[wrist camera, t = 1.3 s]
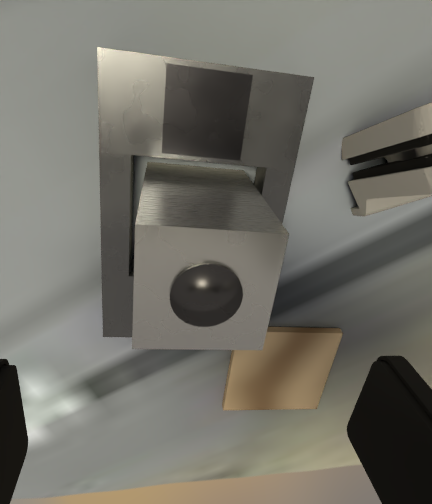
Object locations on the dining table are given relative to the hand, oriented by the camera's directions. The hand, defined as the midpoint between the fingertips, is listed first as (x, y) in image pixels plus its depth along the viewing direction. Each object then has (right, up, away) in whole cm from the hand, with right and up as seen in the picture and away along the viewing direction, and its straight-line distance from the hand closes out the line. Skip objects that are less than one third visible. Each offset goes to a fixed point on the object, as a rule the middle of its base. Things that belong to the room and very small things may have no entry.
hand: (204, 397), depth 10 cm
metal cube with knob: (-1, +6, +12) cm, 14 cm away
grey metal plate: (-1, +6, +12) cm, 14 cm away
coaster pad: (+5, -5, +19) cm, 21 cm away
